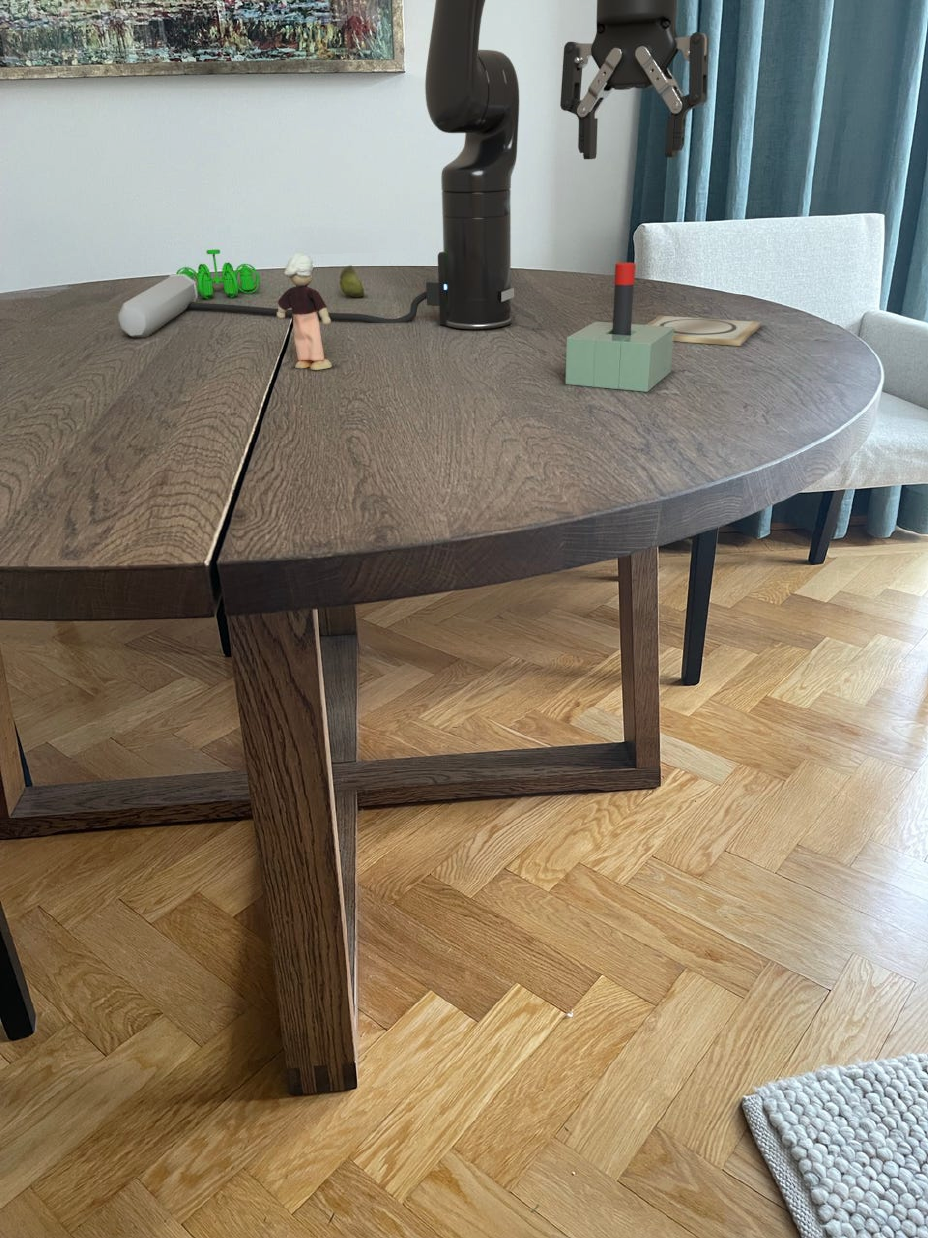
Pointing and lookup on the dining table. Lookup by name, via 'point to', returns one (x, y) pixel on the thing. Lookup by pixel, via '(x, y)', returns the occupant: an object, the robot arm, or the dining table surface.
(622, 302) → the marker
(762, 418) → the dining table surface
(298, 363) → the grandmother figurine
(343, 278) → the lime
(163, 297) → the tube
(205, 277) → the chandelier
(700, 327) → the square wooden coaster
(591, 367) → the pen stand
